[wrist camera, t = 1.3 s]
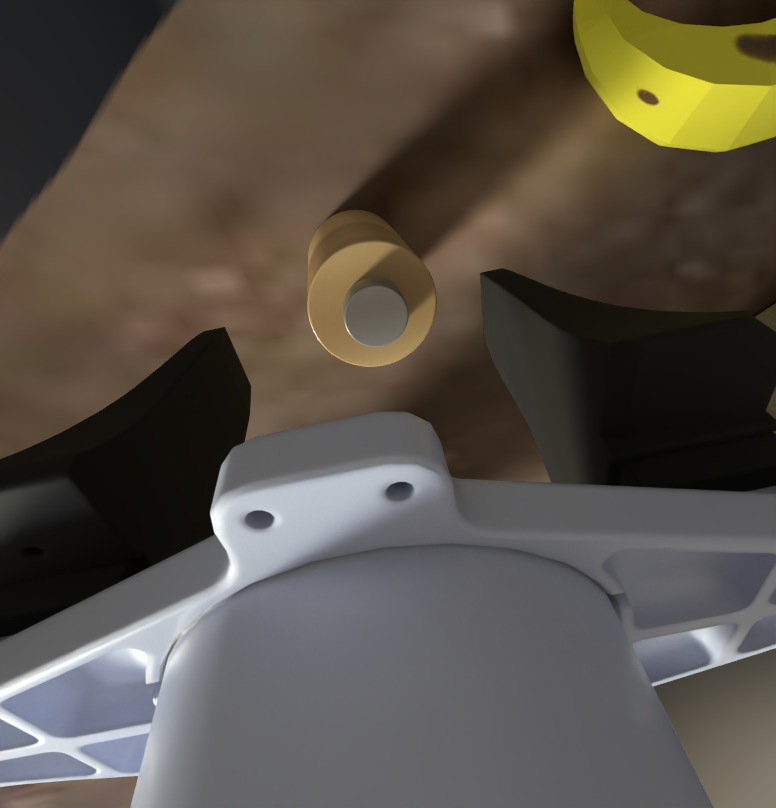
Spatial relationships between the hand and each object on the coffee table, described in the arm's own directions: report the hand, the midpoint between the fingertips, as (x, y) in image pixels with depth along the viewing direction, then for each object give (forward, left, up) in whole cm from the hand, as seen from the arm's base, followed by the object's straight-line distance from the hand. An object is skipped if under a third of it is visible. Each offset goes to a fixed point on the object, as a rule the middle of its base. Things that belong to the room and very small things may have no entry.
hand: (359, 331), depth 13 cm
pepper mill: (-1, -1, -11) cm, 11 cm away
